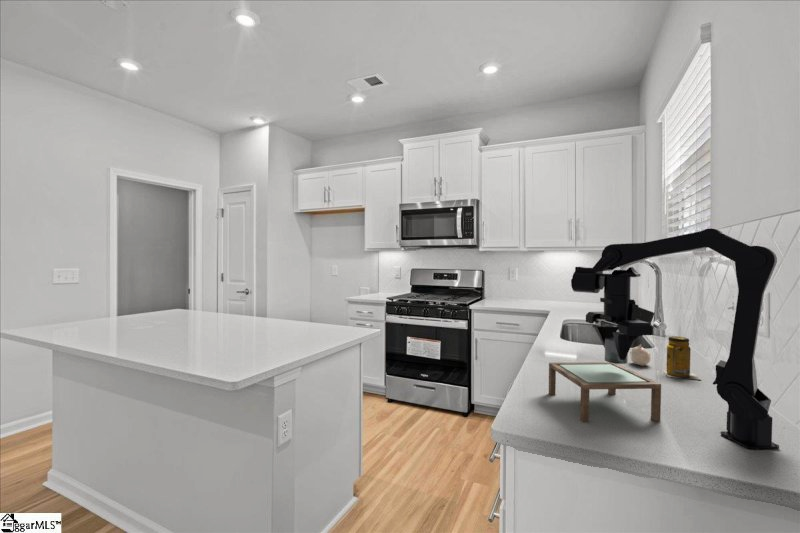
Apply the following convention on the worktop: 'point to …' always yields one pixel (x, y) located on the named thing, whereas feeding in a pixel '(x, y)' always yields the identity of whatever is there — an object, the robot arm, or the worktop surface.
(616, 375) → the trapdoor
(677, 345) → the condiment
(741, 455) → the worktop surface
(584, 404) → the stand
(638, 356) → the garlic bulb
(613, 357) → the cylinder
